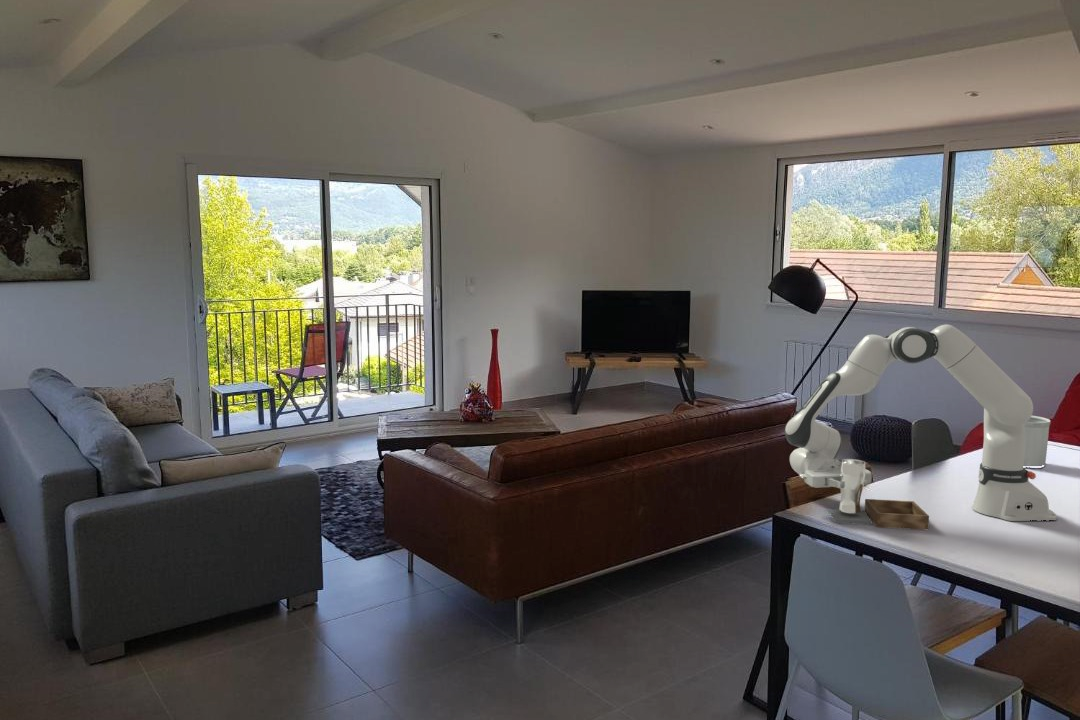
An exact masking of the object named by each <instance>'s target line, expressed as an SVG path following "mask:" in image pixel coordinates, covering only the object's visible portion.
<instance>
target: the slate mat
mask: <svg viewBox="0 0 1080 720" xmlns="http://www.w3.org/2000/svg"><path fill="white" fill-rule="evenodd" d="M860 510H861V509H860ZM827 512H828V514H829V513H830V514H831V515H830V514H829V515H830V517H831V516H832V517H833V518H832V517H831V518H832V519H834V520H835V521H834V520H833V521H834V522H835V523H836V522H839V524H851V523H855V524H854V525H856V524H857V525H872V523H873V522H872V520H871V519H870V518H869V517H868V516H867V514H866V513H865V512H864V510H863V509H862V510H861V512H860V513H859V514H847V513H843V512H841V511H839V508H828V510H827Z"/></svg>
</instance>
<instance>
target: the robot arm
mask: <svg viewBox="0 0 1080 720" xmlns="http://www.w3.org/2000/svg"><path fill="white" fill-rule="evenodd" d="M930 358H933V359H935V360H937V361H938V363H940V364H941V365H942V367H944V369H945V370H946V371H948V373H949V374H951V376H953V378H954V379H955V380H956V381H957V382H958V383H959V384H960V385H961V386H962V387H963V388H964V389H965V390H966V391H968V393H969V394H970V395H971V396H972V398H974V400H976V401H977V402H978V403H979V405H981V407H983V446H982V455H981V459H982V460H981V463H980V464H979V471H978V482H979V483H978V487H977V492H976V495H975V498H974V500H973V504H972V506H971V508H972V510H974V511H975V512H977V513H980V514H982V515H985V516H989V517H994V518H998V519H1001V520H1004V521H1008V522H1009V521H1010V522H1033V521H1032V520H1037V521H1038V522H1039V521H1040V522H1044V521H1043V520H1046V521H1045V522H1048V521H1049V520H1056V519H1057V518H1058V517H1057V514H1056V513H1055V512H1054V511H1052V510H1051V509H1050V507H1049V501H1048V497H1047V496H1046V495H1045V493H1043V492H1042V491H1041V490H1040V489H1039V488H1038V487H1036V486H1035V485H1034V484H1033V483H1031V482H1030V481H1029V479H1030V480H1035V479H1036V477H1037V474H1036V473H1035V472H1033V471H1029V470H1028V469H1027V468H1023V464H1024V454H1025V431H1024V423H1026V422H1027V421H1028V420H1029V419H1030V418H1031V416H1033V413H1034V403H1033V401H1032V398H1030V396H1029V394H1027V393H1026V392H1025V391H1024V390H1023V389H1022V388H1021V387H1020V386H1019V385H1018V384H1017V383H1016V382H1015V381H1014V380H1013V379H1012V378H1011V377H1010V376H1009V375H1008V374H1006V372H1005V371H1004V370H1002V368H1000V367H999V365H997V363H995V362H994V360H992V358H990V357H989V356H988V355H987V354H986V353H985V352H984V351H983V350H982V349H981V348H980V347H979V346H978V345H977V344H976V343H975V341H973V340H972V339H971V338H970V337H968V335H966V334H965V333H964V332H962V331H960V330H959V329H958V328H957V327H955V326H953V324H952V325H951V324H946V323H945V324H941V325H938V326H936V327H935V328H933V329H932V330H931V331H927V330H923V329H921V328H917V327H912V326H907V327H901V328H899V329H896V330H895V331H893V332H892V333H890V334H888V335H886V336H884V337H883V336H882V335H879V334H867V335H865V336H864V337H863V338H862V339H861V340H860V341H859V343H857V345H856V346H855V347H854V349H853V350H852V352H851V354H850V355H849V356H848V358H847V360H846V362H845V363H844V365H843V366H842V367H840V369H838V370H837V371H836V372H831V373H829V374H828V375H827V376H826V377H824V379H823V380H822V381H821V382H820V383H819V385H817V387H816V389H815V390H814V391H813V392H812V393H811V395H810V396H809V397H808V399H807V400H806V401H805V403H804V404H803V405H802V406H801V407H800V408H799V410H798V411H797V412H796V413H795V414H794V415H793V416H792V417H791V418H789V420H788V421H787V422H786V424H785V427H784V435H785V437H786V440H787V442H788V443H789V444H790V445H791V446H794V447H797V448H795V449H794V450H793V451H792V452H791V453H790V455H789V463H790V466H791V468H792V469H793V471H794V472H795V473H797V474H798V476H799V478H801V479H802V480H804V483H806V484H807V485H808V486H810V487H811V488H816V489H817V488H819V489H820V488H831V487H833V488H838V489H840V488H844V483H843V482H841V481H840V469H841V463H842V460H843V459H837V457H838V456H839V454H840V452H841V449H842V445H843V444H842V443H843V440H842V435H841V433H840V432H839V430H838V429H835V428H833V427H831V426H829V425H827V424H824V423H822V422H820V421H817V420H816V418H817V417H819V415H820V413H821V412H822V411H823V410H824V409H825V407H826V406H827V405H828V403H829V402H830V401H831V400H833V399H834V398H837V397H840V396H862V395H866V394H868V393H870V392H871V391H872V390H873V389H874V388H875V387H876V386H877V384H878V382H879V380H880V378H881V377H882V375H883V373H884V372H885V369H886V368H887V367H888V365H889V364H891V363H892V362H894V361H898V362H902V363H905V364H918V363H921V362H924V361H926V360H927V359H930ZM872 477H873V476H872V472H871V471H870V470H868V469H866V468H865V482H864V486H863V488H865V487H867V486H868V485H870V484H871V483H872ZM1030 520H1031V521H1030ZM1041 520H1042V521H1041ZM1057 520H1058V519H1057ZM1057 520H1056V521H1057ZM1037 521H1036V522H1037ZM1049 522H1050V521H1049Z"/></svg>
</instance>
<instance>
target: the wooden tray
mask: <svg viewBox="0 0 1080 720" xmlns="http://www.w3.org/2000/svg"><path fill="white" fill-rule="evenodd" d="M864 501H865V502H864V510H863V511H864V512H865V514H866V515H867V516H868V517H869V519H870V520H871V521H872V523H873V524H874V526H875V527H877V528H888V529H889V528H890V529H904V528H910V529H909V530H923V529H928V530H929V522H930V516H929V514H927V513H926V512H925V511H924V510H923V509H922V508H921V507H920V506H919V504H917V503H916V502H915V501H913V500H912V501H911V500H893V499H874V498H865V500H864Z"/></svg>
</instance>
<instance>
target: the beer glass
mask: <svg viewBox="0 0 1080 720" xmlns="http://www.w3.org/2000/svg"><path fill="white" fill-rule="evenodd" d="M841 460H842V463H841V469H840V481H841V482H843V483H844V488H839V489H840V502H839V505H838V509H839V511H841V512H843V513H847V514H859V513H860V512H861V497H862V492H863V490H864V487H863V486H864V482H865V469H866V462H865V460H864V461H863V460H860V459H855V458H843V459H841Z"/></svg>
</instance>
